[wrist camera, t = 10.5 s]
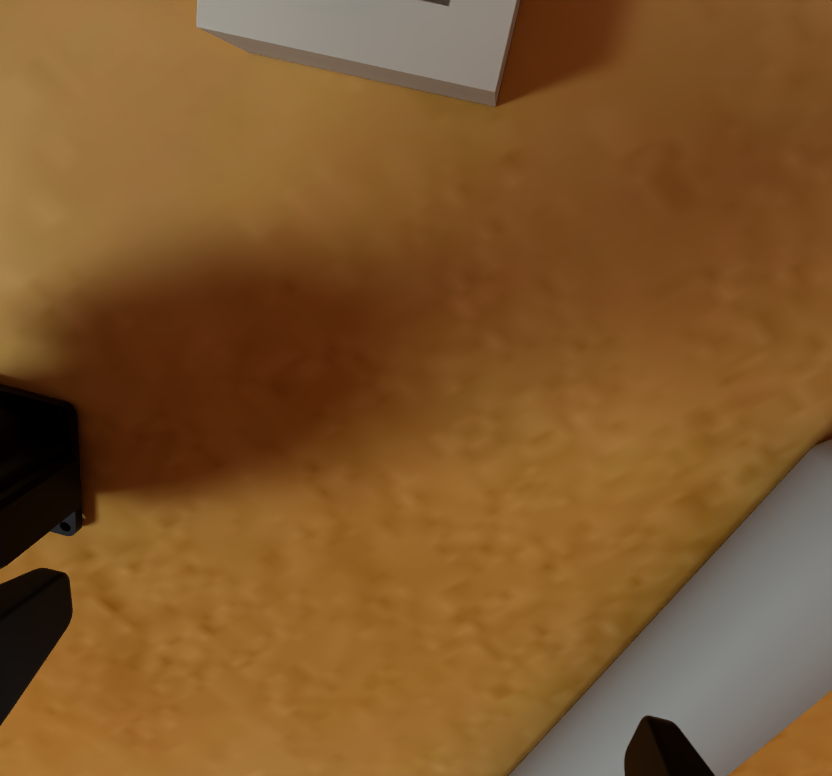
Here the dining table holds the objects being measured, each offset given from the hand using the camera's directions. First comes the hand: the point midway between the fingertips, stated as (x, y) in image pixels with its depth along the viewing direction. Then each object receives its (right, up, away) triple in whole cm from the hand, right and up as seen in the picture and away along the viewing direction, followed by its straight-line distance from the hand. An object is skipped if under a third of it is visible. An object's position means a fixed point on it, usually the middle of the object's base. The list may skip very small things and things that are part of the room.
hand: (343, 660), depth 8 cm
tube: (+11, -7, +15) cm, 20 cm away
